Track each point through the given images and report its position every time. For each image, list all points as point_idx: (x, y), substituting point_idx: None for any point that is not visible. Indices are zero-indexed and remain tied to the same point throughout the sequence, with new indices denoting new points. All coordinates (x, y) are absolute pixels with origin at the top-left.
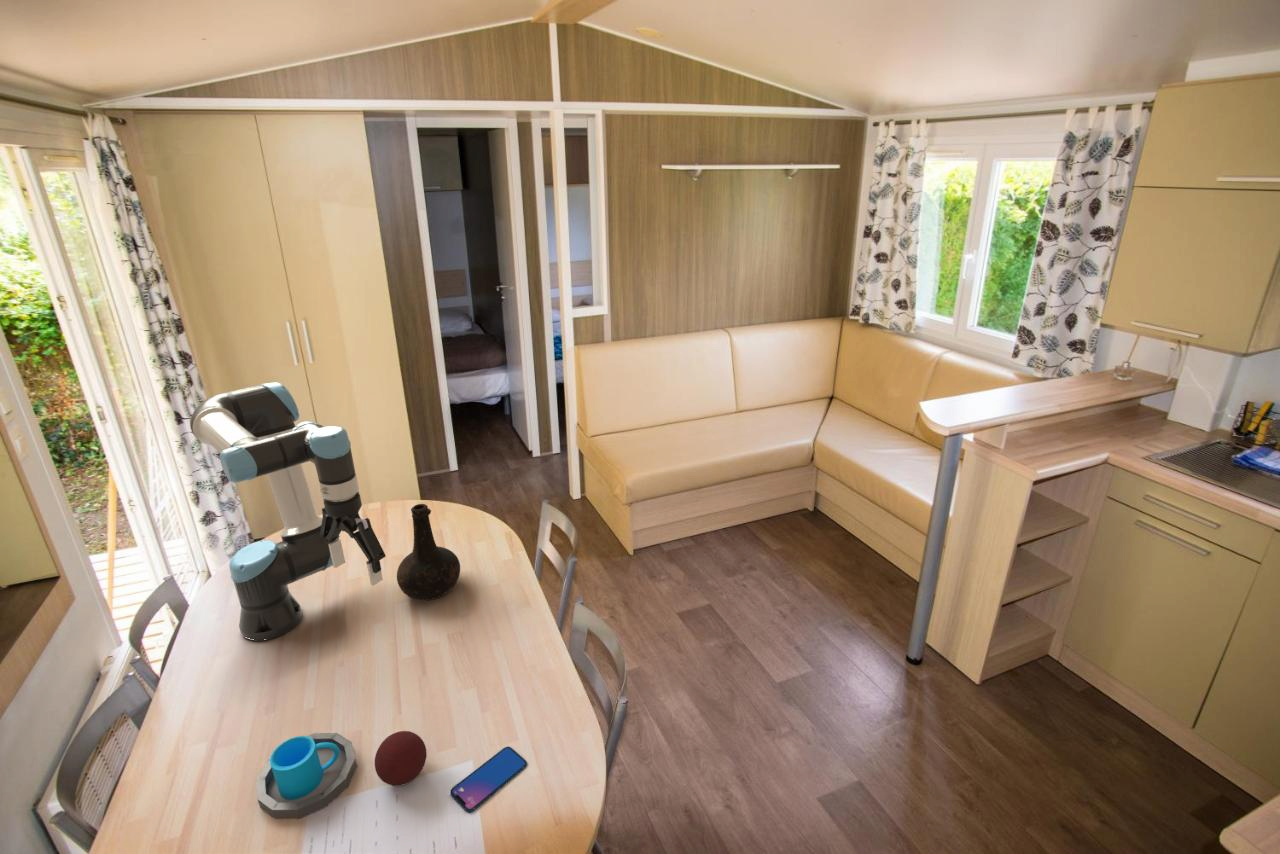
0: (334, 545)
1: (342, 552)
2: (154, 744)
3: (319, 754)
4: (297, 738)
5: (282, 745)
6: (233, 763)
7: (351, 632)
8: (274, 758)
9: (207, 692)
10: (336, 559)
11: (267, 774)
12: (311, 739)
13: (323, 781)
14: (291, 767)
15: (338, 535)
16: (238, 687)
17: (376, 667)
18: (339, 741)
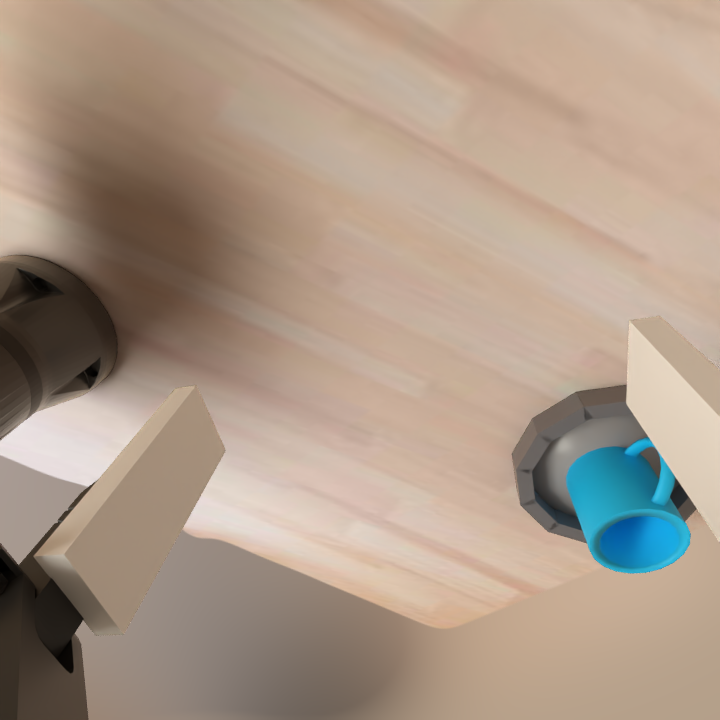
0: (120, 581)
1: (154, 450)
2: (297, 560)
3: (578, 434)
4: (609, 523)
5: (597, 545)
6: (445, 515)
7: (214, 195)
8: (615, 564)
9: (220, 483)
10: (192, 475)
11: (552, 517)
12: (645, 510)
13: (651, 456)
14: (674, 557)
15: (23, 623)
16: (245, 448)
17: (421, 216)
18: (614, 414)
